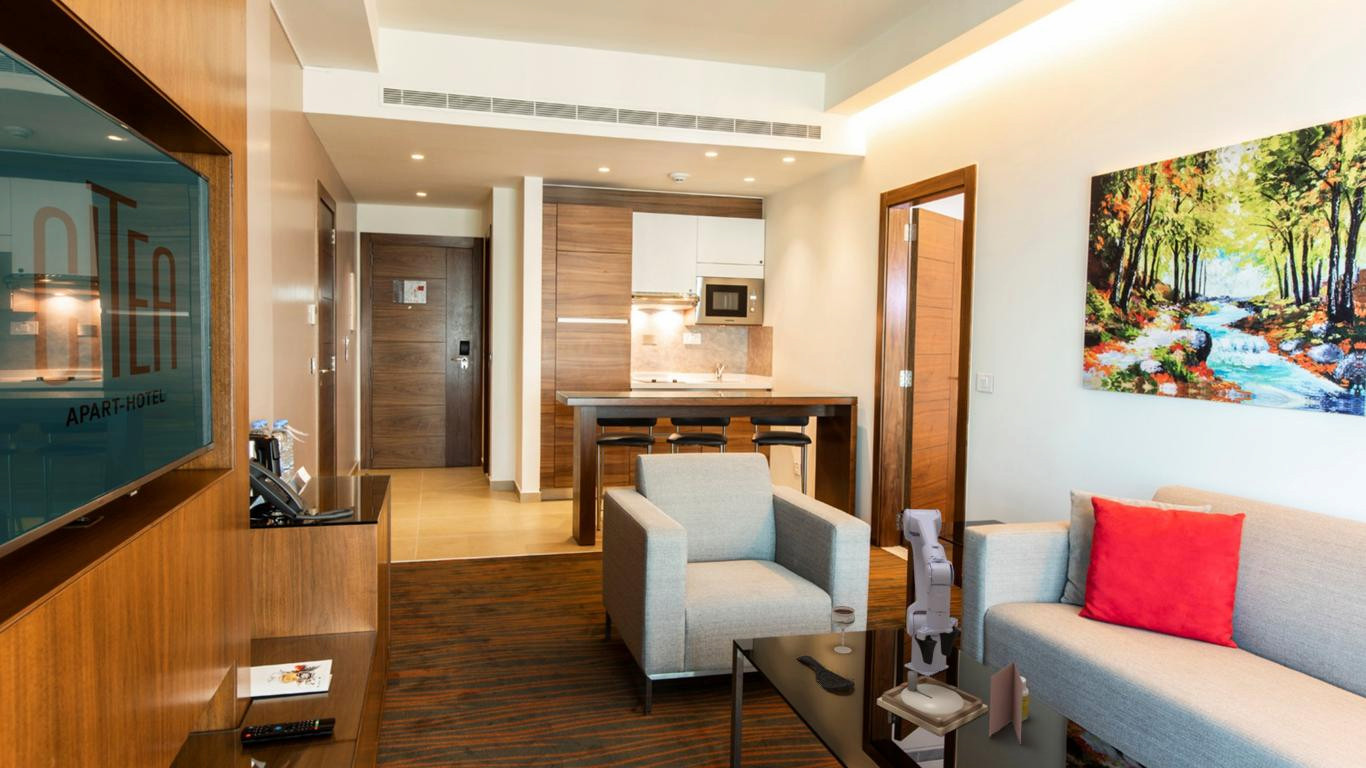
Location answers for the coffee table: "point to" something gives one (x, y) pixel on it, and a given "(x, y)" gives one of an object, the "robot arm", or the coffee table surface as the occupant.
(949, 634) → the robot arm
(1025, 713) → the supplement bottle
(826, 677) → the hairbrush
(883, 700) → the dial housing
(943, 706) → the dial
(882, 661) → the coffee table surface
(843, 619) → the wineglass
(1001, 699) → the greeting card
